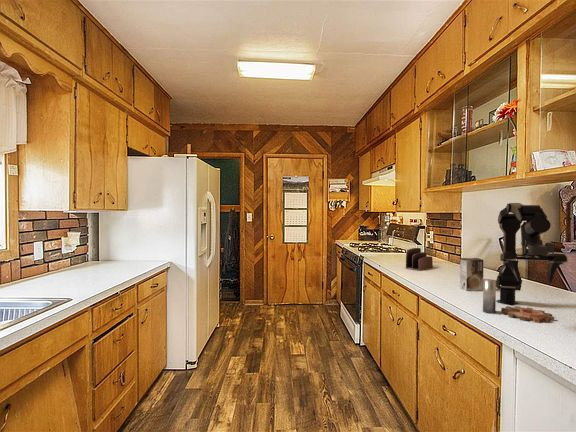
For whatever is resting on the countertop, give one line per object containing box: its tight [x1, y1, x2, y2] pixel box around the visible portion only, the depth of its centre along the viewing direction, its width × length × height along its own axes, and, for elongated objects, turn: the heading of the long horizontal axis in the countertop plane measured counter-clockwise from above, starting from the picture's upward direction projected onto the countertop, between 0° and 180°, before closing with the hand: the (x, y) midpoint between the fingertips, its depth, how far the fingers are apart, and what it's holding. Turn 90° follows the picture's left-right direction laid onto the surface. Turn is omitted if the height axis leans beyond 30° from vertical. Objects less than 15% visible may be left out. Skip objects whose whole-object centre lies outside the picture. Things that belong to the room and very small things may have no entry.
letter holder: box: [405, 247, 434, 272], centre depth 234 cm, size 10×20×14 cm, turn 131°
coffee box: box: [459, 257, 484, 292], centre depth 172 cm, size 9×6×16 cm
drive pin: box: [482, 278, 497, 315], centre depth 135 cm, size 4×4×13 cm
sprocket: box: [500, 305, 555, 323], centre depth 131 cm, size 16×16×3 cm
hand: (534, 282), depth 117 cm, fingers open, 9 cm apart
